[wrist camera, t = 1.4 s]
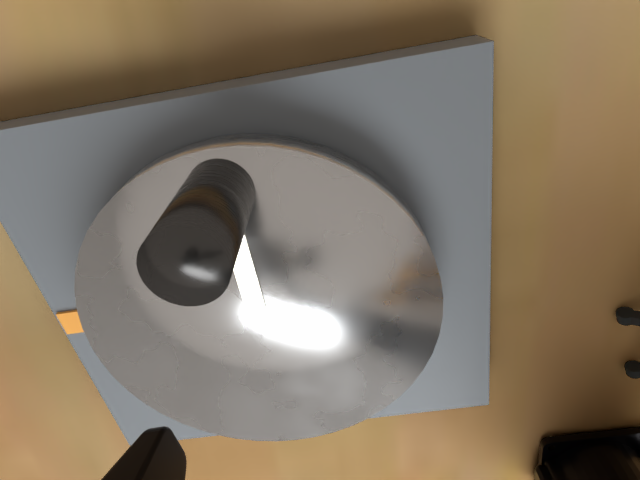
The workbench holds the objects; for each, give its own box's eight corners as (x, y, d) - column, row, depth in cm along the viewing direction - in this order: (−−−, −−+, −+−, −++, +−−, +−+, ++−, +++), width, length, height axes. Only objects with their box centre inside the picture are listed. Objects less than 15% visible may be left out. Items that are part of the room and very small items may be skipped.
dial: (441, 396, 23) (481, 532, 18) (160, 429, 25) (112, 565, 19) (424, 101, 16) (481, 167, 10) (27, 168, 17) (-118, 261, 12)
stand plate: (476, 35, 17) (495, 41, 15) (477, 376, 26) (489, 407, 24) (-14, 124, 19) (-51, 140, 17) (142, 416, 28) (128, 447, 26)
